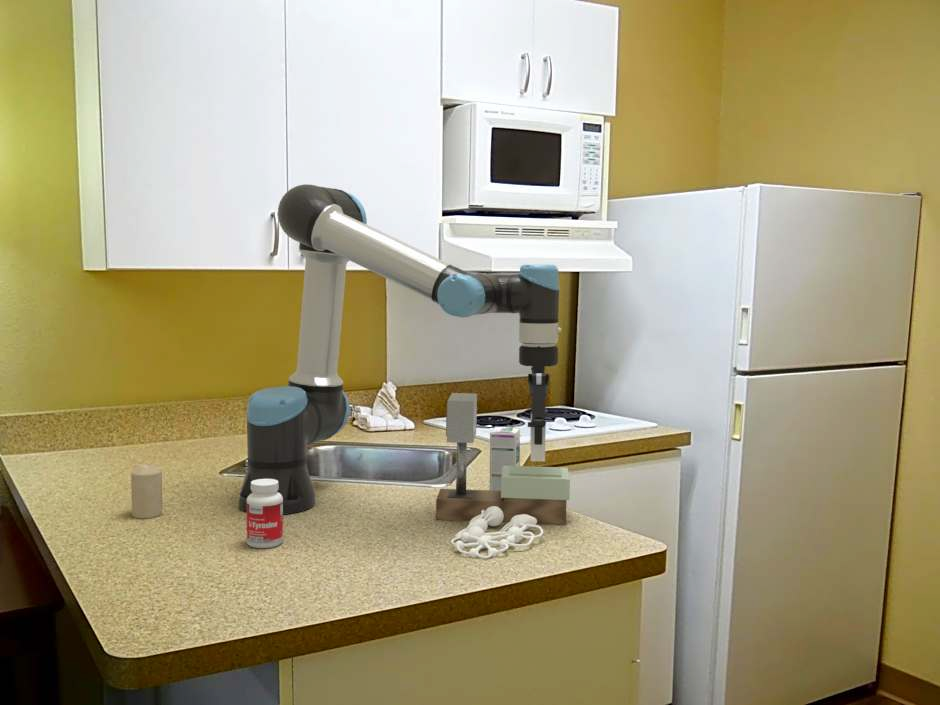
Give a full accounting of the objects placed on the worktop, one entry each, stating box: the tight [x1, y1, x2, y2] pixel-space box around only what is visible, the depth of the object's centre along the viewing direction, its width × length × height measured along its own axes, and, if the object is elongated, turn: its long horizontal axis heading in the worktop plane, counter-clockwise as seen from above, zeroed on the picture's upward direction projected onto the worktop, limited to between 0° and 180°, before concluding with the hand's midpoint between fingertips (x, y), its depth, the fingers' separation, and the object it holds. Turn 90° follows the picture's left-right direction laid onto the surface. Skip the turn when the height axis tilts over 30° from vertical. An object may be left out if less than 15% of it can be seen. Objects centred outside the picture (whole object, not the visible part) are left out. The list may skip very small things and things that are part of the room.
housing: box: [435, 488, 567, 525], centre depth 166 cm, size 25×8×5 cm, turn 86°
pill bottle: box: [246, 479, 284, 549], centre depth 147 cm, size 6×6×11 cm
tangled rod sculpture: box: [450, 506, 544, 559], centre depth 150 cm, size 19×14×4 cm
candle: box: [130, 462, 163, 520], centre depth 162 cm, size 6×6×10 cm
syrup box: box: [489, 426, 521, 491], centre depth 180 cm, size 6×6×14 cm
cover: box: [501, 465, 571, 501], centre depth 165 cm, size 13×9×4 cm
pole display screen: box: [445, 392, 478, 495], centre depth 165 cm, size 10×5×19 cm, turn 176°
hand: (537, 453), depth 164 cm, fingers open, 13 cm apart
